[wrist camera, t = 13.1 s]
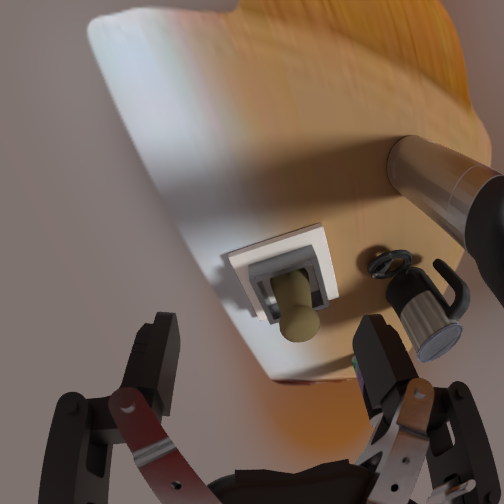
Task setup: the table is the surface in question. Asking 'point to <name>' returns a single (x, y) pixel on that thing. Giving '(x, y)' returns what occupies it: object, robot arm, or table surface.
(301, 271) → the cork
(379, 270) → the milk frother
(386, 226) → the table surface
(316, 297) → the socket collar
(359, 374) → the spray can
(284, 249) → the socket base
